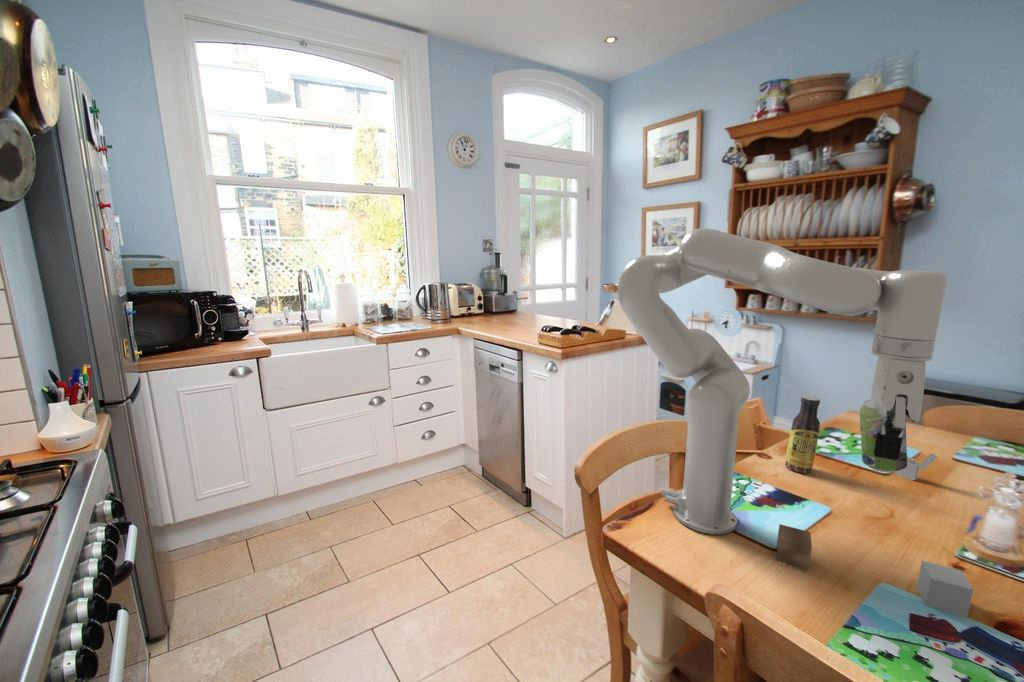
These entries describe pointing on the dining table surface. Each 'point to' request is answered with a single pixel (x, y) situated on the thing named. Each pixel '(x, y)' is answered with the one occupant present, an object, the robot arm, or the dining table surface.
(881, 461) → the beverage can
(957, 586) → the slate grey block
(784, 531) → the walnut block
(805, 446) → the sauce bottle
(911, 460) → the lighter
